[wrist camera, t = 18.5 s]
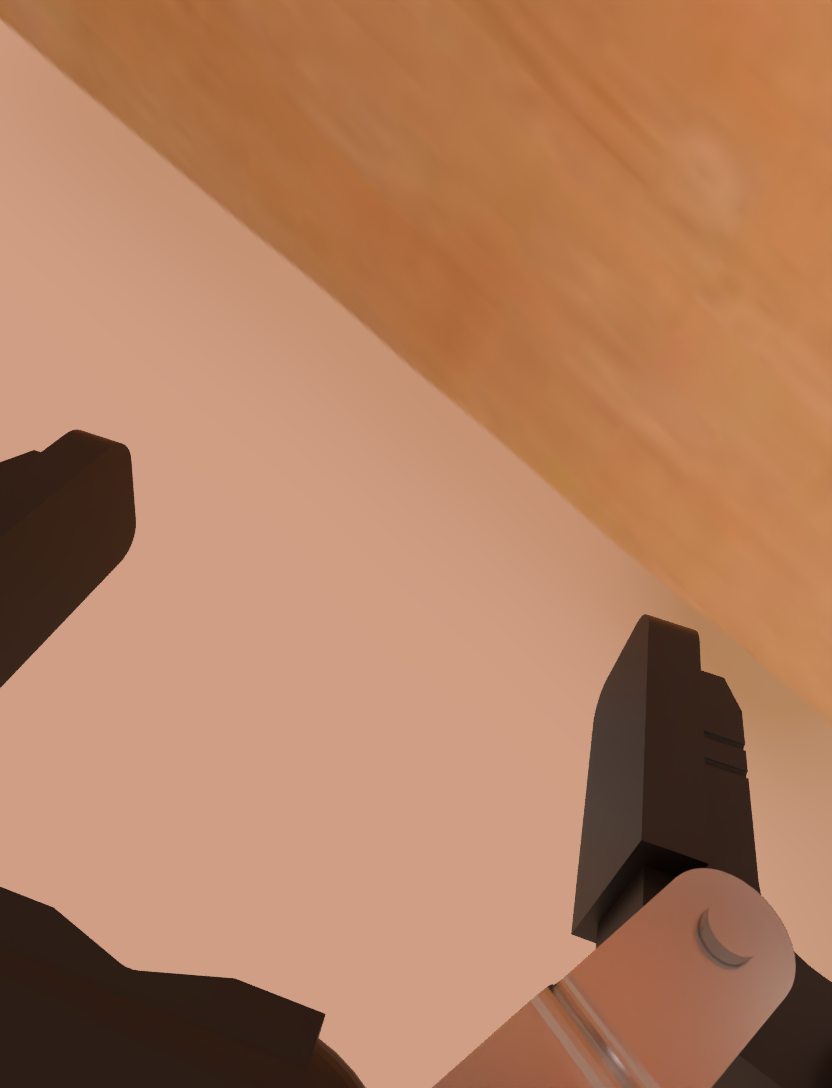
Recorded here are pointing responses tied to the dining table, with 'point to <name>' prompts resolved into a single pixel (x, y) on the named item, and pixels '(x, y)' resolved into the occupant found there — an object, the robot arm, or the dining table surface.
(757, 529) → the dining table surface
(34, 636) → the robot arm
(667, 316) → the dining table surface
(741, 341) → the dining table surface
